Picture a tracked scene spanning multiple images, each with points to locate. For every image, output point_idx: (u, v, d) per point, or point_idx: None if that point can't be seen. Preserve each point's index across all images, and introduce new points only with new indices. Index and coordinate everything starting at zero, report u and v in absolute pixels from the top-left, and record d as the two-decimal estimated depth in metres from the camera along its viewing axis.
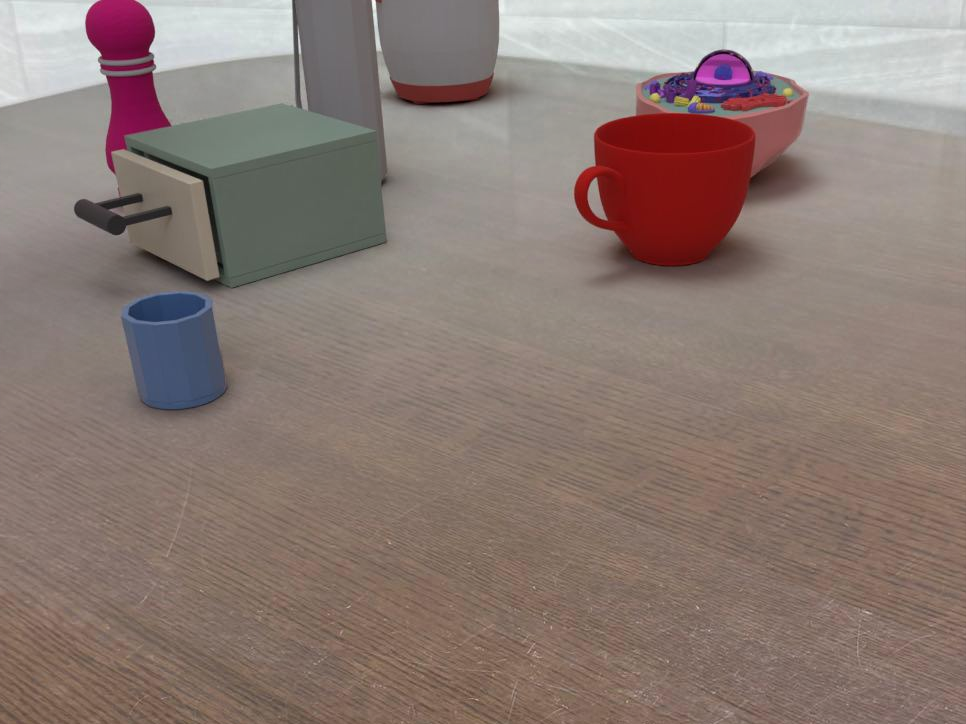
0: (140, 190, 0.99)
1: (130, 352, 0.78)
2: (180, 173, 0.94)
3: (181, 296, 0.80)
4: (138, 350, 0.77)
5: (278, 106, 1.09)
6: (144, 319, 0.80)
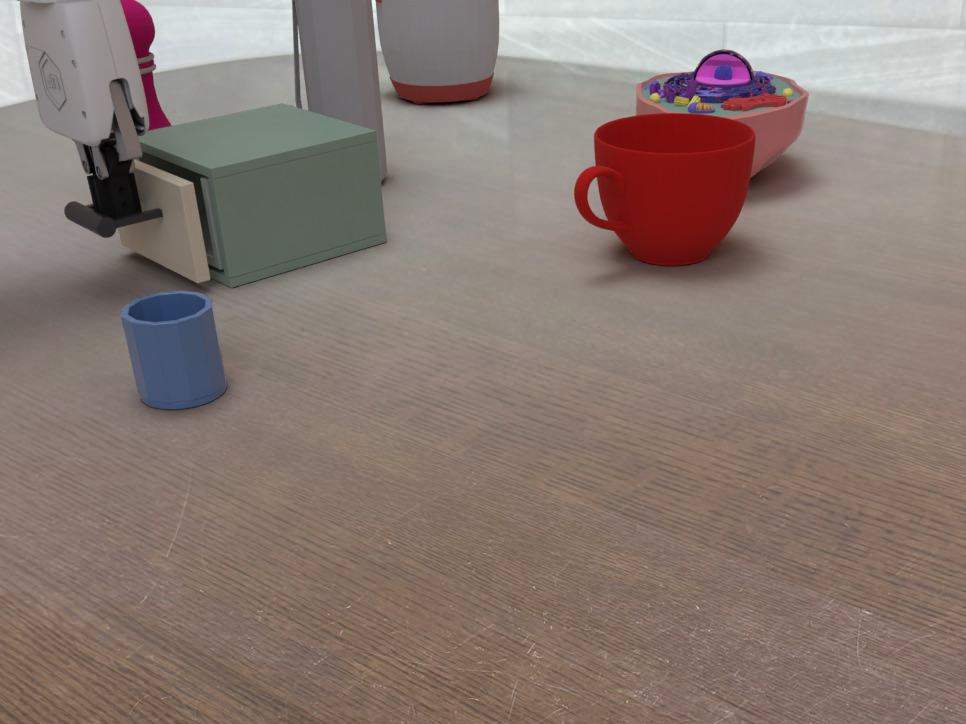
0: None
1: (130, 352, 0.78)
2: (171, 175, 0.94)
3: (181, 296, 0.80)
4: (138, 350, 0.77)
5: (278, 106, 1.09)
6: (144, 319, 0.80)
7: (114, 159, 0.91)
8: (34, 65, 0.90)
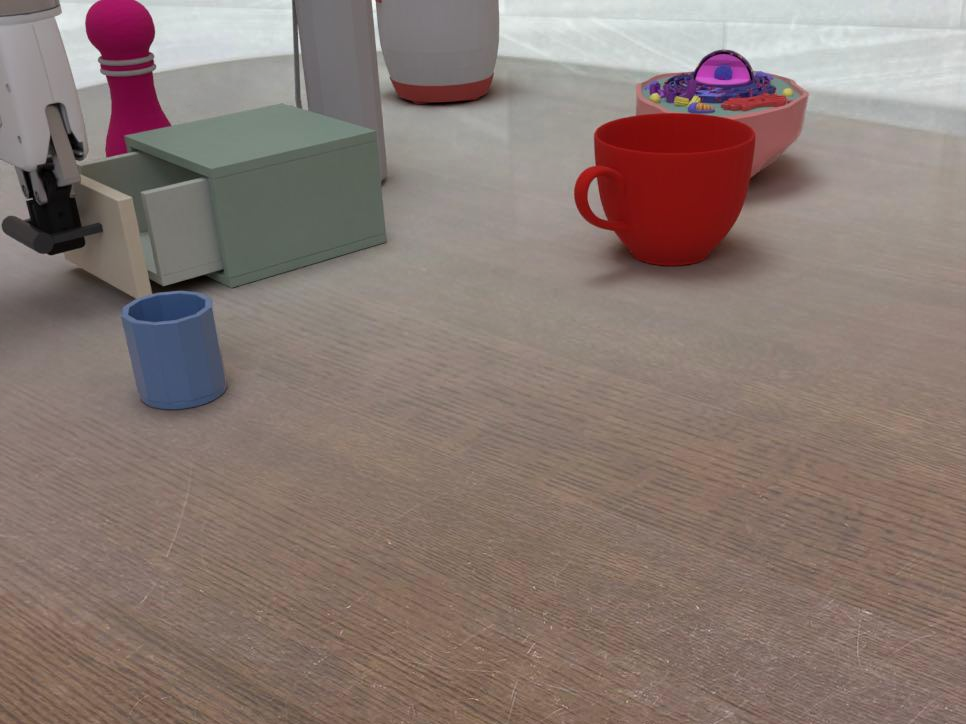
0: None
1: (130, 352, 0.78)
2: (110, 189, 0.91)
3: (181, 296, 0.80)
4: (138, 350, 0.77)
5: (278, 106, 1.09)
6: (144, 319, 0.80)
7: (52, 184, 0.89)
8: None
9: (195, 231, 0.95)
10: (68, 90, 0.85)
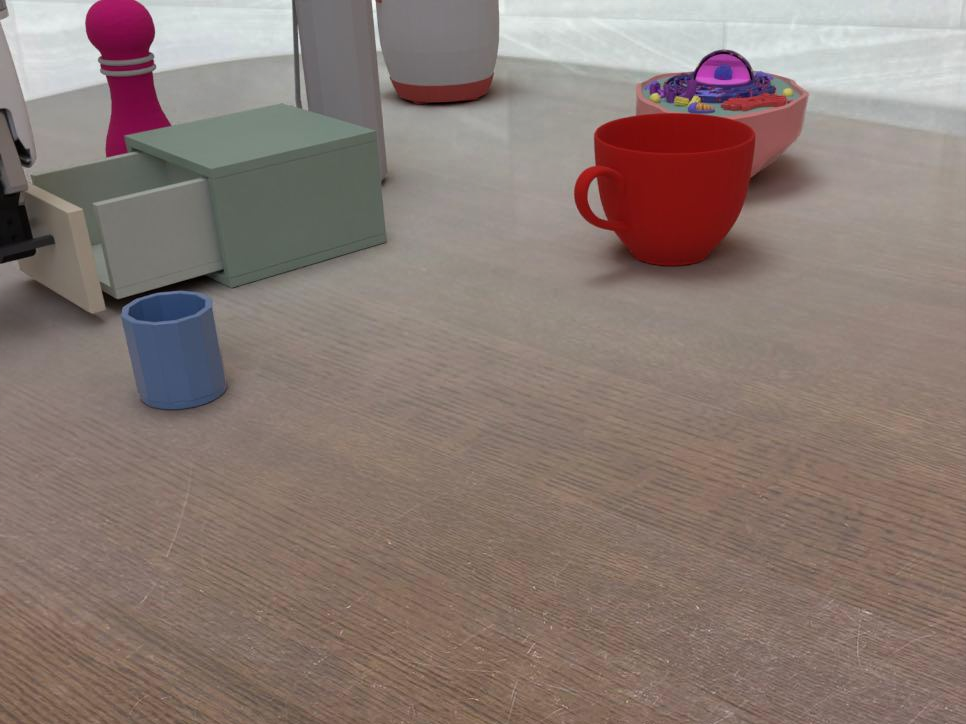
0: None
1: (130, 352, 0.78)
2: (61, 200, 0.89)
3: (181, 296, 0.80)
4: (138, 350, 0.77)
5: (278, 106, 1.09)
6: (144, 319, 0.80)
7: None
8: None
9: (150, 243, 0.92)
10: (14, 95, 0.83)
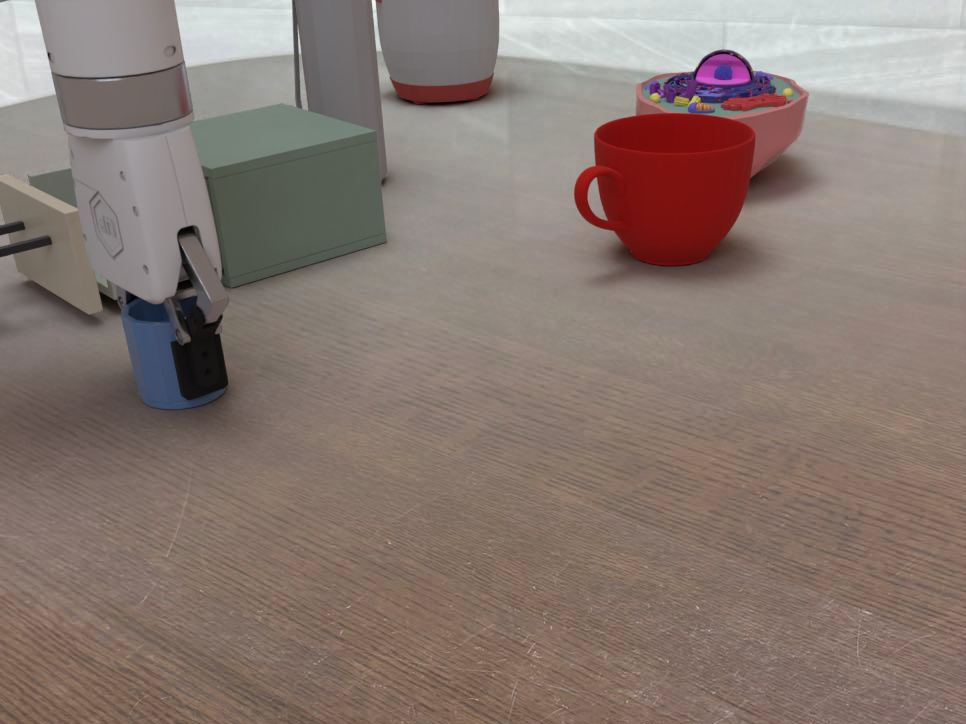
0: (21, 218, 0.93)
1: (130, 352, 0.78)
2: (58, 201, 0.89)
3: None
4: (138, 350, 0.77)
5: (278, 106, 1.09)
6: (144, 319, 0.80)
7: (199, 323, 0.73)
8: (83, 203, 0.75)
9: None
10: (203, 210, 0.72)
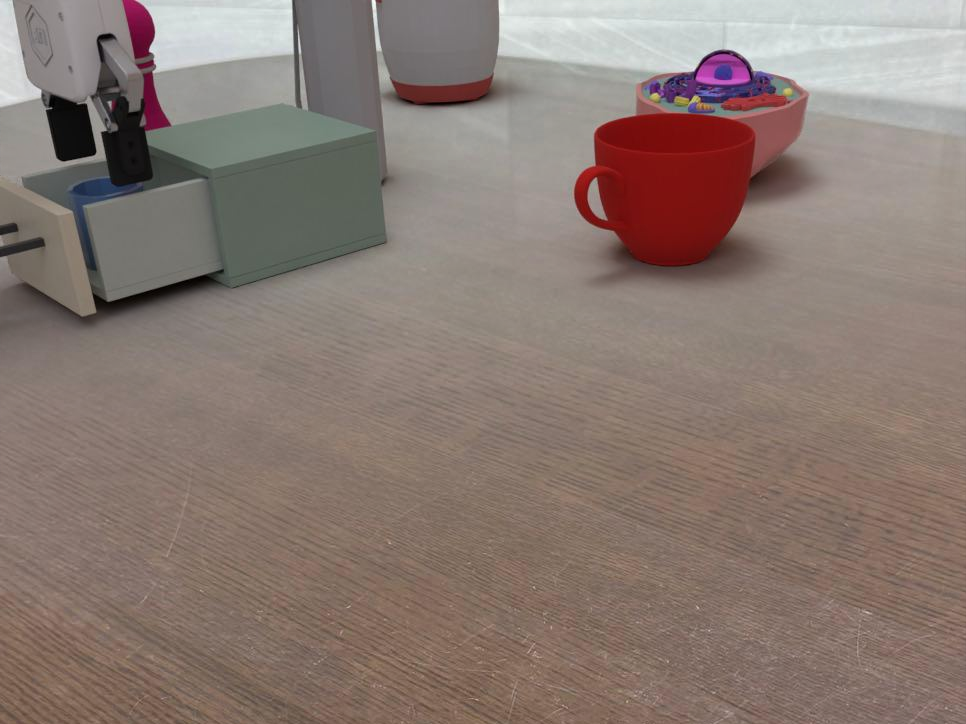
0: (14, 220, 0.93)
1: None
2: (51, 203, 0.89)
3: None
4: (80, 220, 0.93)
5: (278, 106, 1.09)
6: None
7: (124, 110, 0.86)
8: (21, 20, 0.88)
9: (141, 245, 0.92)
10: (119, 21, 0.86)
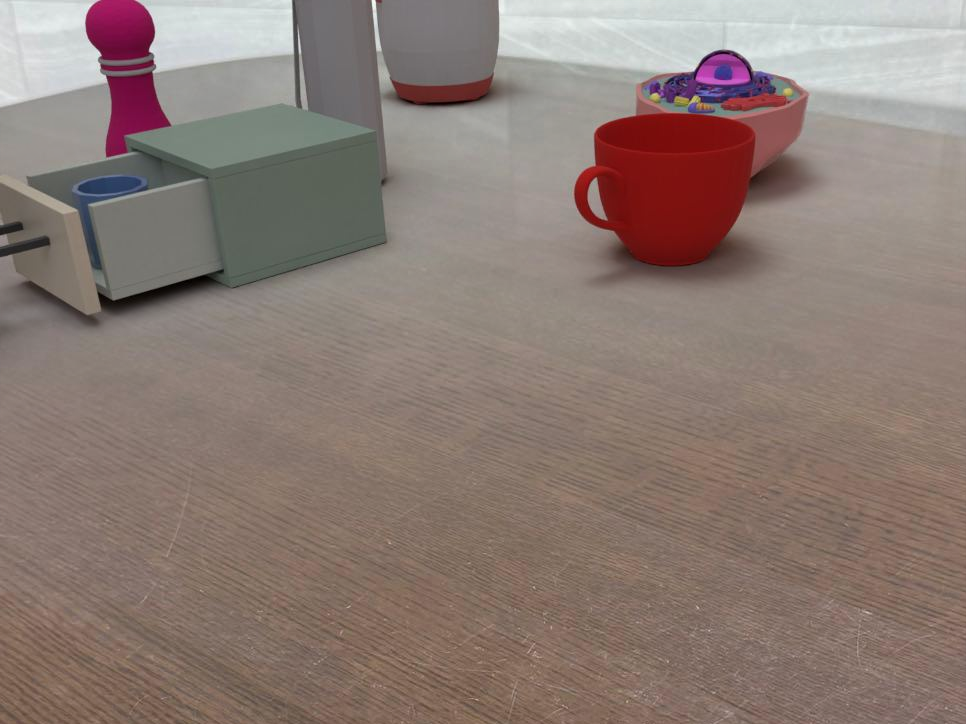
0: (20, 218, 0.93)
1: None
2: (56, 201, 0.89)
3: (123, 178, 0.97)
4: (85, 219, 0.94)
5: (278, 106, 1.09)
6: None
7: None
8: None
9: (146, 244, 0.92)
10: None
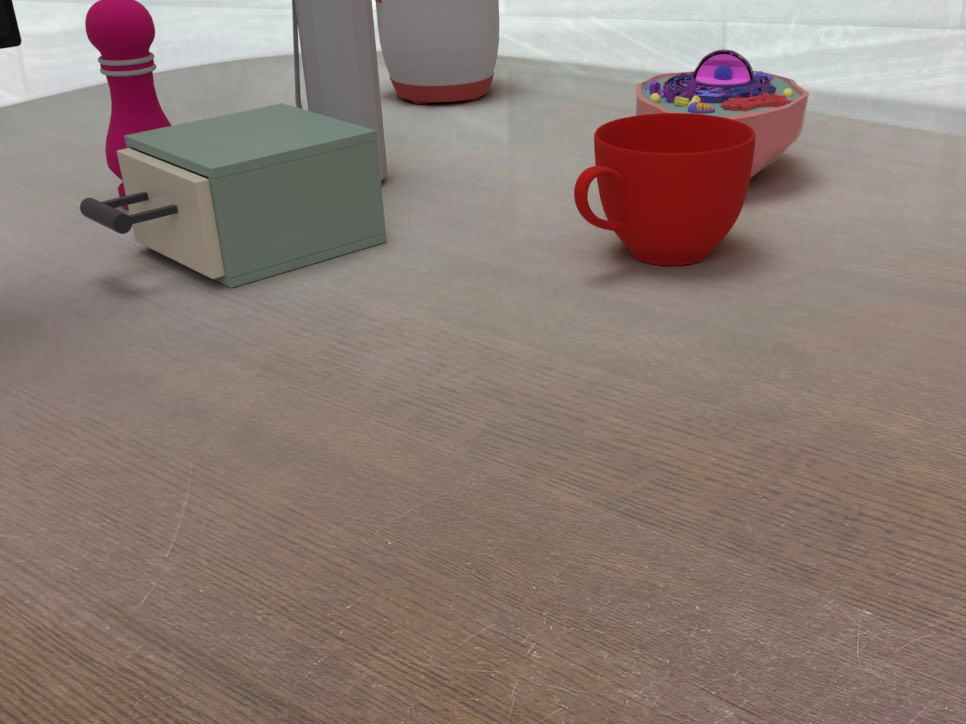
0: (145, 189, 0.99)
1: None
2: (186, 172, 0.95)
3: None
4: None
5: (278, 106, 1.09)
6: None
7: None
8: None
9: None
10: None
